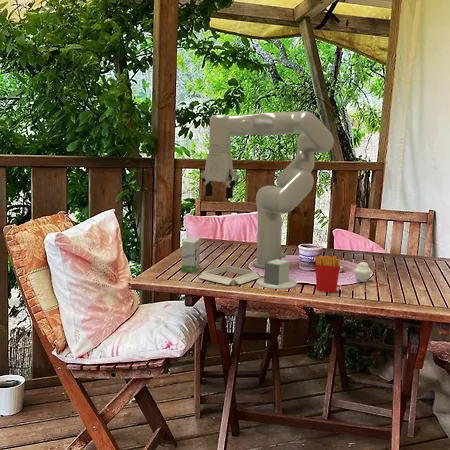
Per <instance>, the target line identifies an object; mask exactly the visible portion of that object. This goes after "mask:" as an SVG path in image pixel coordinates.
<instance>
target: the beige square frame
mask: <svg viewBox="0 0 450 450" xmlns="http://www.w3.org/2000/svg"><path fill="white" fill-rule="evenodd" d="M225 272H230V273H232V274H238V275H240V276H237V277H234V278H230V277H226V276H223V275H218V274H222V273H225ZM197 278H198V279H201V280H206V281H210V282H214V283H216V284H217V283H218V284H222V285H226V286H235V285H238V286H240V285H242V284H245V283H249V282H252V281H254V280H258V279H259V278H261V276H260V273H258V271H255V270H250V269H245V268H240V267H236V266H231V265H228V264H227V265H226V264H225V265H222V266H220V267H215V268H213V269H209V270H205V271H203V272H202V271H201V273H199V274H198V277H197Z"/></svg>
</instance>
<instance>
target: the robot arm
mask: <svg viewBox="0 0 450 450" xmlns="http://www.w3.org/2000/svg"><path fill="white" fill-rule="evenodd" d="M296 134H297V135H298V134H299V136H298V137H297V139H296V141H297V142H296V147H297V148H296V152H297V153H296V156H295V158H294V159H293V160H292V161H291V162H290V163H289V164H288V165H287V166H286V167H285V168H284V169H283V170H281V172H280V173H279V174H278V176H277V177H276V181H275V182H276V186H275V185H264V186H262V187H261V188H259V189H258V191H257V193H256V196H255V204H256V209H257V210H256V212H257V233H256V234H257V235H256V237H257V238H256V259H255V260H253V261H252V265H253V266H254V267H255V268H259V269H264V268H265V263H266V262H270V261H273V260H276V259H279V260H283V258H286V256H287V254H286V253H285V252H282V231H283V229H282V228H283V218H282V214H287V213H289V212H292V211H293V210H294V209H295V208H296V207H297V206H299V205H300V203H301V202H302V201H304V199H305V198H306V197H307V196H308V195H309V194H310V192H311V191H312V190H313V187H314V182H315V181H314V176H313V174H312V171H313V170H314V167H315V153H320V154H325V153H328V152H330V151H331V150H332V149H333V147H334V143H335V139H334V136H333V134H332V133H331V131H330V130H329V129H328V127H326V125H324V123H323V122H322V121H321V120H320V119H319V118H318V117H317V116H316V115H315V113H312V112H311V111H308V110H307V111H306V110H304V111H303V110H301V111H300V110H298V111H282V112H281V111H279V112H277V111H275V112H263V113H261V112H260V113H256V114H240V115H239V114H236V115H235V114H234V115H227V114H213V115H210V118H209V141H208V143H209V145H208V146H207V150H208V152H209V153H207V154H206V159H205V165H204V166H205V167H204V168H205V169H204V170H203V171H202V172H200V174H199V175H200V177H201V181H202V182H203V185H204V186H205V190H204V191H205V193H204V194H205V197H212V196H213V184H212V183H213V182H218V183H225V185H226V187H225V188H226V189H225V199H228V200H229V199H233V196H234V188H235V186H236V184H237V183H238V181H239V178H240V175H239V174H237V173H236V172H235V171H234V166H233V158H232V154H231V137H245V136H249V135H250V136H279V135H280V136H281V135H296Z"/></svg>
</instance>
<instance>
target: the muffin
mask: <svg viewBox="0 0 450 450" xmlns="http://www.w3.org/2000/svg"><path fill="white" fill-rule="evenodd" d="M353 272H354V276H355V278H356V280H357V281H358V282H361V283H366V282H367V281H368V280H369V278H370V277H371V274H373V273H372V269H371V268H370V267H369V264H368V263H367V262H364V261H362V262H358V264H357V266H356V267H355V268H354V270H353Z"/></svg>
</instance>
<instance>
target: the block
mask: <svg viewBox="0 0 450 450" xmlns="http://www.w3.org/2000/svg"><path fill="white" fill-rule="evenodd" d="M263 269H264V271H263V275H264V283H268V284H272V285H279V284H281V283H284V282H287V281H289V278H290V261H288V260H283V259H281V260H279V259H276V260H273V261H270V262H266V263H265V268H263Z"/></svg>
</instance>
